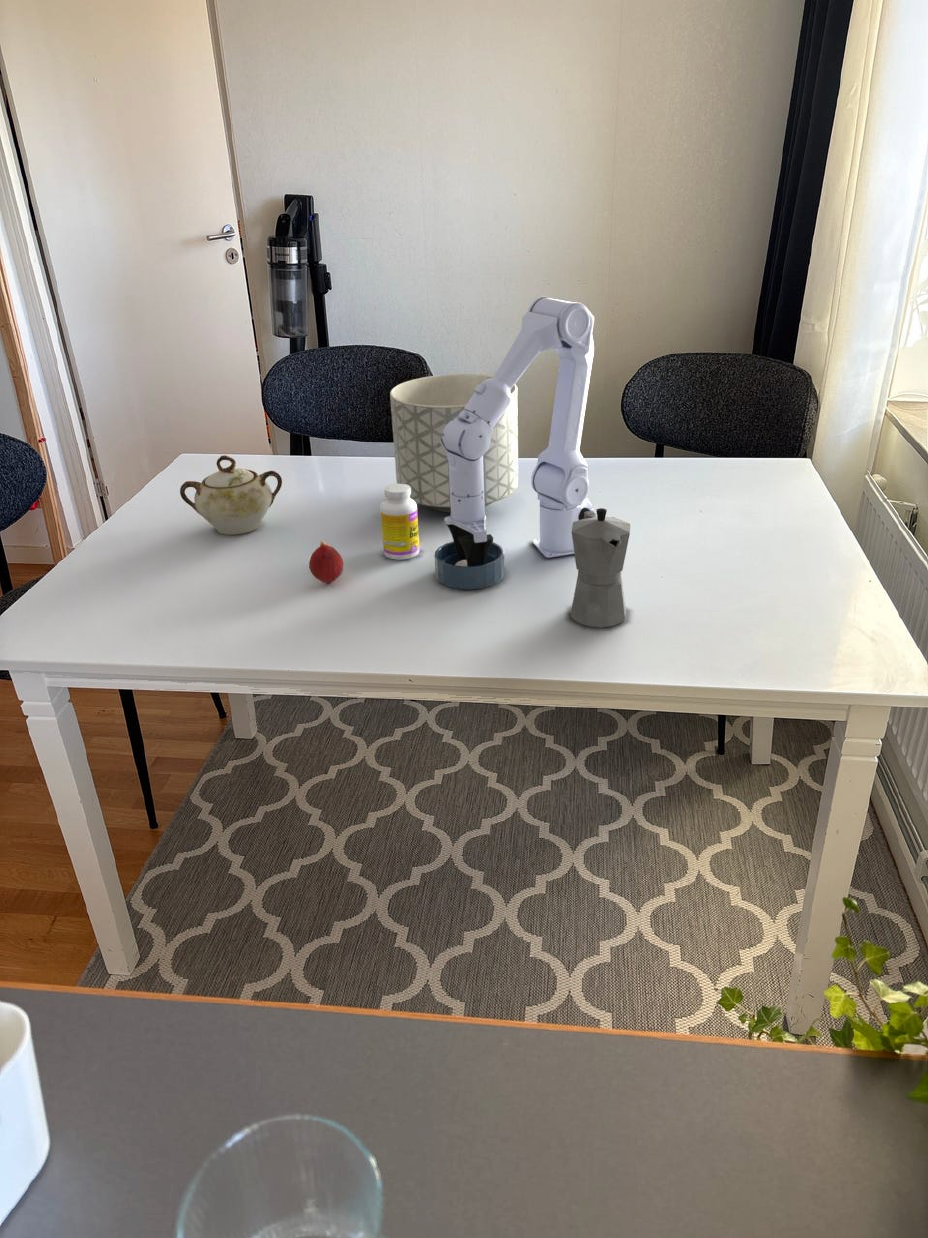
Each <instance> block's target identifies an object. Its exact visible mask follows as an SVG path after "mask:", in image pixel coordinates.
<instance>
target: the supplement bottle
mask: <svg viewBox="0 0 928 1238" xmlns="http://www.w3.org/2000/svg"><path fill="white" fill-rule="evenodd" d="M383 489H384V490H383V491H384V497H385V499H384V500H383V501H382V502H381V503H380V506H379V507H380V508H379V509H380V520H381V521H380V522H381V535H382V548H383V554H384V555H385V556H386V558H388V559H391V560H397V561H398V560H401V561H402V560H403V561H404V560H409V559H412V558H415V557H416V556H417V555H418V554H419V553H420V536H419V535H420V534H419V533H420V532H419V519H418V518H419V517H418V505H417V503H416V502H415V501H414V500H413V499H411V498H410V494H411V489H410V486H409V485H406V484H397V483H392V484H388V485H386V486H385V487H384V488H383Z"/></svg>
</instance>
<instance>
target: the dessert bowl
mask: <svg viewBox="0 0 928 1238" xmlns="http://www.w3.org/2000/svg"><path fill="white" fill-rule="evenodd" d="M461 560H466V559H459V558H458V556H457V552H456V548H455V544H454V541H453V540H452V541H451V542H447V543H444V544H443V545H441V546H439V547H438V548H437V549H436V550H435V551H434V571H435V573H434V574H435V578H436V579H437V581H438V582H439V583H441V584H442V585H444V586H446V587H451V588H453V589H458V590H477V589H484V588H487V587H489V586H492V585H493V586H494V585H495V584H497V583H498V582H500V581H502V579H503V578H504V576H505V575H506V574H505V573H506V571H505V569H506V568H505V567H506V566H505V549H504V548H503V547H502V546H501V545H500V544H499V543H496V542H494V541H493V542H492V544H491V545H490V547H489V549H488V551H487V554H486V558H485V562H484V565H478V566H455V564H456V563H457V562H459V561H461Z"/></svg>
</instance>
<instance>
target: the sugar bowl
mask: <svg viewBox="0 0 928 1238" xmlns="http://www.w3.org/2000/svg"><path fill="white" fill-rule="evenodd" d="M223 461H228V462H230V463H231V464H230V465H229V466H228V467H222V465H221V462H223ZM236 463H237V461H236V460H235V459H234V458H232V457H230V456H228V455H226V454H225V455H220V456H219V457H218V458H217V460H216V467H217V471H215V472H213V473H211V474H210V475H207V477H204V478H203V479H202V480H201V482H199V481H195V480H188V481H187V480H186V481H185V482H183V483H182V485H181V486H180V488H179V495H180V498H181V499H182V500H183V501H184V502H185V503H186V504H187V505H188V506H190V507H191V508H192V509H193V510H194V511H195V512H196V513H197V514H198V515H200V516H201V517H202V518H203V519H204V520H205V521H206V522H208V523H209V524H210V525H211V526H212V527H213V528H214V529H215V530H216V531H217V532H218V533H220V534H222V535H230V536H235V535H241V534H242V535H243V534H246V533H247V534H248V533H249V532H252V531H255V530H256V529H258V528H259V527H260V526H261V524H262V520H263V519H264V517H265V516H266V514H267V512H268V510H269V509H270V507H271V506H272V505H273V503H274V500H275V499H276V496H277V495H278V493H279V492H280V490H281V488H282V485H283V479H282V476H281V475H280V473H278V472H277V471H276V470H268V471H265V472H262V473H261V474H258V473H257V472H256V471H254V470H251V469H244V468H238V467H237V468H236V466H237V464H236ZM269 477H274V478H275V479H276V481H277V484H276V486H275V489H274V491H272V488H271V486H270V484H269V482H268V481H267V480H266V479H268V478H269ZM188 488H193V489H195V493H194V497H193V498H194V502H193V501H191V499H189V497H188V496H187V494H186V490H187V489H188Z"/></svg>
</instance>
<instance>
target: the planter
mask: <svg viewBox="0 0 928 1238" xmlns="http://www.w3.org/2000/svg"><path fill="white" fill-rule="evenodd" d="M494 376H495V375H487V374H475V373H474V374H472V373H452V374H440V375H429V376H424V377H419V378H413V379H411V380H407V381H404V382H401V383H399V384H396V386H394V387H393V388H392V389H391V390H390V392H389V398H390V411H391V424H392V438H393V452H394V463H395V464H394V466H395V478H396V484H406V485H409V486H410V489H411V494H410V498H411V499H413V500H414V501H415V502H416V504H418V505H422V506H423V507H427V508H429V509H432V510H434V511H438V512H444V513H450V514H451V501H450V481H449V461H448V459H447V452H446V450H445V449H444V448H443V447H442V445H441V442H440V437H442V436H443V431H444V428H445V426H446V425H447V424H448V423H449V422H450V421H451V420H452V421H453V420H454V419H456V418H458V417H459V416H458V415H459V414H460V412H461V411H463V409H464V408H465V406H466V405H467V403H468V402H469V400H470V399H471V397H472V396H473V394H474V393H475V391H474V389H475V388H476V386H477V385H478V384H481V382H482V381H484V380H487V379H491V378H493V377H494ZM510 393H511V402H510V404H509V405H508V407H507V408H506V410H505V411H504V413H503V414H502V416H501V417H500V419H499V420H498V422H497V423H496V425H495V426H494V428H493V431H492V432H493V433H492V435H491V442H490V447H489V449H488V451H487V452H485V454H484V455H483V471H484V502H485V507H488V506H490V505H491V504H493V503H495V502H498V501H500V500H501V501H502V500H503V499H505V498H507V497H509V496H511V495H512V494H514V493H515V492H516V490H517V489H518V488H519V426H518V425H519V419H518V417H519V416H518V406H519V405H518V386H517V385H516V384H515V385H514V386H513V387H512V388H511V390H510Z"/></svg>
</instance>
